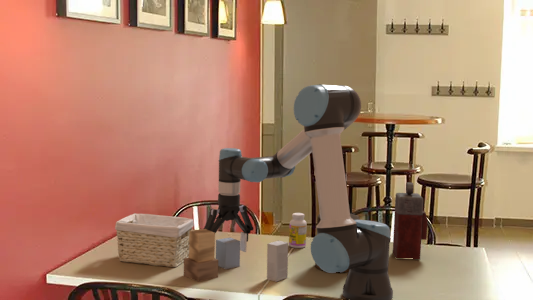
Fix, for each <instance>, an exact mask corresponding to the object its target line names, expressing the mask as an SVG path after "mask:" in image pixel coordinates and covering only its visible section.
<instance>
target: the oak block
mask: <svg viewBox="0 0 533 300" xmlns="http://www.w3.org/2000/svg"><path fill="white" fill-rule="evenodd" d="M215 254H216V233H214V232H212V231H209V230H207V229H204V228H203V229H196V230H195V229H194V230H193V229H192V231H190V234H189V258H190V259H192V260H195V261H197V262H204V261H210V260H214V258H215Z"/></svg>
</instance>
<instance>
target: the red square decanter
mask: <svg viewBox="0 0 533 300" xmlns="http://www.w3.org/2000/svg"><path fill="white" fill-rule="evenodd" d="M414 185H415V184H414V182H406V184H405V192H396V193H395V199H394V201H395V202H394V221H393V239H392V241H393V242H392V254H394V255H393V257H394V256H395V257H396V258H413V259H420V260H421V251H422V250H421V248H422V240H425V241H426V240H427V239H428V238H427V237H428V217H427V214H426V212H425V210H424V197H422V195H420V194H419V193H417V192H416V193H414V190H415V189H414ZM395 257H394V258H395Z"/></svg>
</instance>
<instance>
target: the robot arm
mask: <svg viewBox="0 0 533 300" xmlns="http://www.w3.org/2000/svg"><path fill="white" fill-rule="evenodd" d="M297 94H298V95H296V97H295V99H294V103H293V115H294V118H295V120H296V121H297V122H298V124H300V125H301V126H303V129H302V130H301V131H300V132H299V133H297V134H296V135H295V136H294V137H293V138H292V139H291V140H290V141H288V142H287V143H286V144H285V145H284V146H283V147H281V148H280V149H279V150H278V151H277V152H275V153H274V154H273V155H270V156H269V155H268V156H257V157H247V156H242V150H241V149H239V148H236V147H234V148H233V147H224V148H221V149H220V151H219V155H218V186H217V187H218V191H217V192H218V195H217V204H218V205H217V206H218V207H217V208H209V215H208V218H207V220H206V222H205V225H204V227H203V229H207V230H209V231H212V232H214V233H215V234H216V233H217V232H218V230H219V229H220V228H221V226H222V225H223V224H224V223H225V222H228V221H234V222H235V223H236V224H237V225H238V227H239V228H240V229H241V232H240V239H239V241H240V252H244V253H247V248H248V247H247V246H248V245H247V243H248V242H249V234H251V231H253V230H254V227H253V224H252V222H251V219H250V216H249V213H248V209H247V208H248V207H247V205H243V204H240V203H241V195H240V193H241V180H243V181H247V182H250V183H261V182H263V181H265V180H268V179H275V178H276V179H277V178H286V177H289V176H292V175H293V174H294V172H295V169H296V166H297V165H298V164H299V163H300V162H302V161H303V160H305V158H307V157H308V156H309V155H310V154H312V162H313V167H314V175H315V184H316V193H317V200H318V208H319V209H318V210H319V214H320V218H321V221H320V222H319V224H318V225H317V224H316V235H315V236H314V237H313V238H312V241H311V242H310V253H311V256H312V260H313V261H314V264H315V263H316V264H317V265H318V266H319V267H320V268H321V269H322V270H323V271H322V270H321V271H322V272H326V273H329V274H337V273H336V272H344V271H346V270H349V272H348V273H347V276H346V279H345V280H344V281H345V282H344V284H343V286H342V296H343V298H345V299H347V300H348V299H350V300H391V299H392V298H394V297H393V296H394V290H393V287H392V285H391V279H390V276H389V261H390V258H389V257H390V245H391V244H390V243H391V242H390V239H391V231H390V226H388V225H387V224H386V223H383V222H379V221H374V220H364V219H360V220H353V219H352V218H351V217H350V214H351V211H350V204H349V197H348V196H349V195H348V187H347V180H346V173H345V172H346V171H345V164H344V158H343V157H344V155H343V149H342V148H343V147H342V141H341V139H342V138H341V134H342V133H343V131H345V130H346V129H348V128H349V127H350V126H351V125H352V124H353V123H355V122H356V120H357V119H358V117H359V116H360V113H361V111H362V101H361V97H360V95H359V94H358V92H357V91H356V90H354V89H353V88H352V87H350V86H348V85H345V84H338V85H337V84H333V85H332V84H320V83H319V84H310V85H307V86H304V87H303V88H302V89H301V90H300V91H299V92H298V93H297ZM239 213H240V214H241V216H240V215H239ZM242 219H243V220H242ZM392 300H393V299H392Z"/></svg>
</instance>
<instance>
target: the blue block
mask: <svg viewBox="0 0 533 300" xmlns="http://www.w3.org/2000/svg"><path fill="white" fill-rule="evenodd" d="M215 259H218V268H222V269H224V270H229V269H233V268H239V267H241V262H240V261H241V260H240V259H241V250H240V239H236V238H233V237H225V238H218V239H215Z"/></svg>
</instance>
